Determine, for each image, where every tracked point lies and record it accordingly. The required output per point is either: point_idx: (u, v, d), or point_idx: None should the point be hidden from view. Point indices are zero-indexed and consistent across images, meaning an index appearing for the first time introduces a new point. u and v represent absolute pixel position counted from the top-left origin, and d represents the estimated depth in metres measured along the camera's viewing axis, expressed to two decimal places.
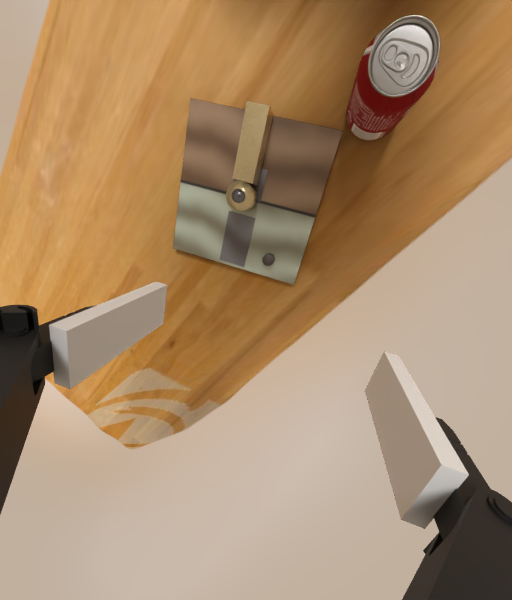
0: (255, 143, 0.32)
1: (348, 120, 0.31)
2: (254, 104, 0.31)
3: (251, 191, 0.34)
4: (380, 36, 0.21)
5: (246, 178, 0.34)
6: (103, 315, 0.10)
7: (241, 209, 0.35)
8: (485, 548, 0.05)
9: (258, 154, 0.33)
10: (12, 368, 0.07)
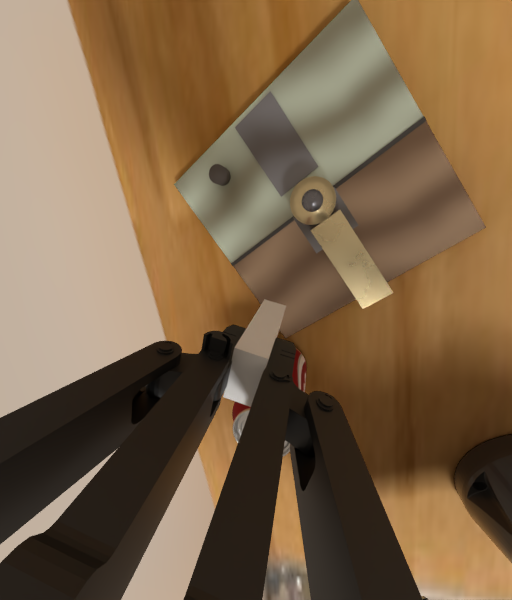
0: (345, 267, 0.23)
1: None
2: (381, 296, 0.23)
3: (303, 221, 0.22)
4: None
5: (323, 228, 0.22)
6: (259, 336, 0.12)
7: (295, 190, 0.22)
8: (267, 404, 0.08)
9: (332, 261, 0.23)
10: (203, 392, 0.08)
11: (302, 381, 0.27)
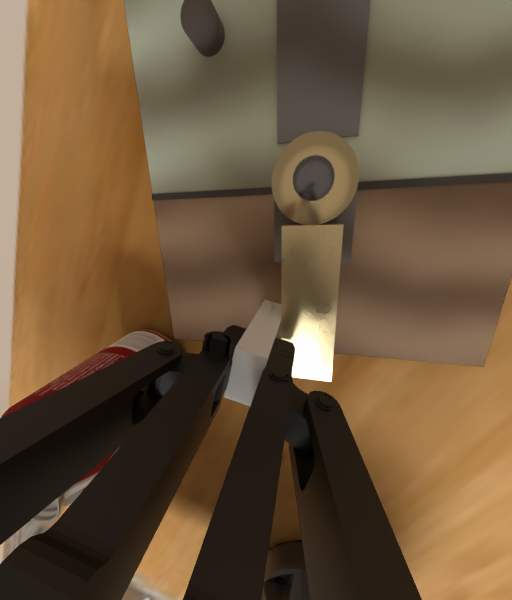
0: (295, 312, 0.14)
1: None
2: (313, 376, 0.15)
3: (280, 204, 0.12)
4: None
5: (301, 235, 0.12)
6: (260, 336, 0.12)
7: (299, 142, 0.11)
8: (266, 403, 0.08)
9: (283, 292, 0.14)
10: (204, 392, 0.08)
11: None
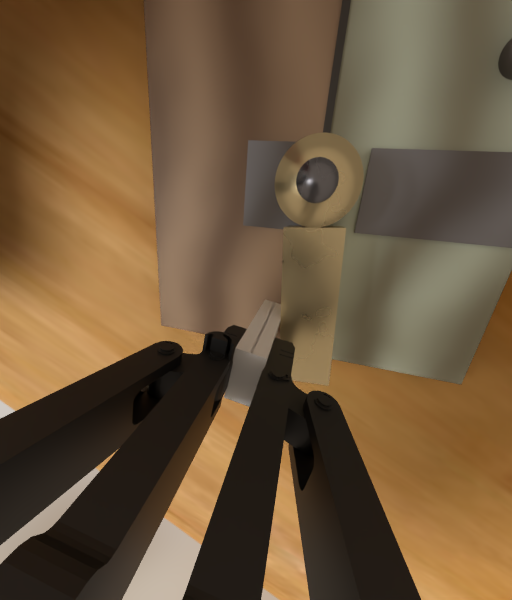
0: (294, 315, 0.14)
1: None
2: (310, 380, 0.15)
3: (282, 206, 0.12)
4: None
5: (303, 237, 0.12)
6: (260, 336, 0.12)
7: (304, 143, 0.11)
8: (266, 403, 0.08)
9: (283, 294, 0.14)
10: (204, 392, 0.08)
11: None
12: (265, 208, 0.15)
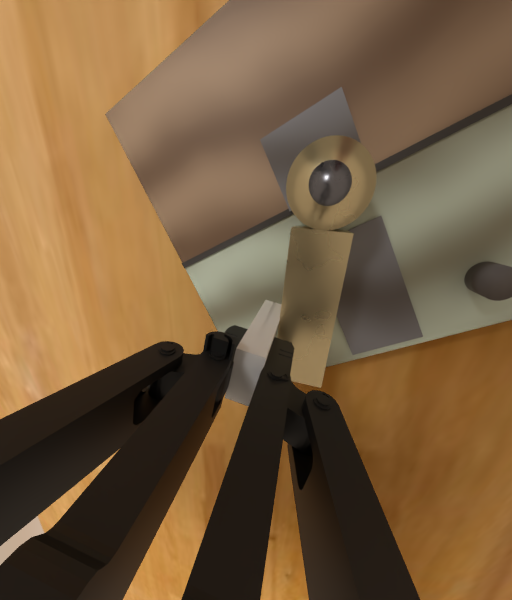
0: (293, 315, 0.14)
1: None
2: (303, 381, 0.15)
3: (292, 205, 0.12)
4: None
5: (310, 239, 0.12)
6: (261, 336, 0.12)
7: (319, 144, 0.11)
8: (265, 403, 0.08)
9: (284, 294, 0.14)
10: (205, 392, 0.08)
11: None
12: (287, 152, 0.14)
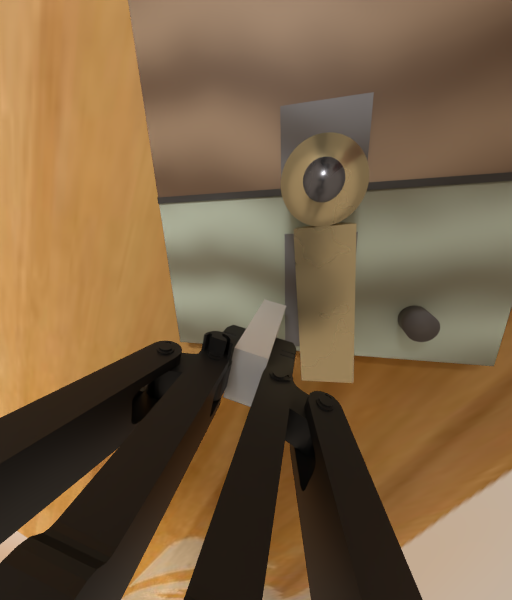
0: (312, 315, 0.14)
1: None
2: (334, 379, 0.15)
3: (290, 208, 0.12)
4: None
5: (314, 237, 0.12)
6: (259, 336, 0.12)
7: (306, 145, 0.11)
8: (267, 404, 0.08)
9: (298, 296, 0.14)
10: (203, 392, 0.08)
11: None
12: (300, 132, 0.14)
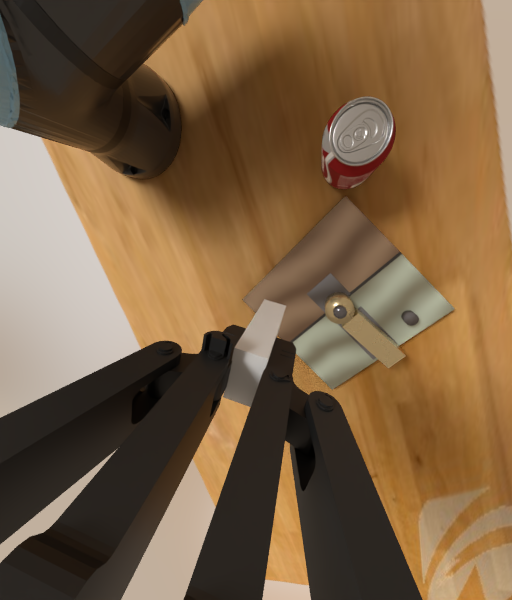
0: (370, 345, 0.35)
1: (342, 187, 0.33)
2: (398, 359, 0.35)
3: (336, 322, 0.36)
4: (331, 146, 0.23)
5: (350, 324, 0.35)
6: (259, 336, 0.12)
7: (327, 306, 0.35)
8: (267, 404, 0.08)
9: (361, 342, 0.36)
10: (203, 392, 0.08)
11: (325, 171, 0.30)
12: (318, 295, 0.38)
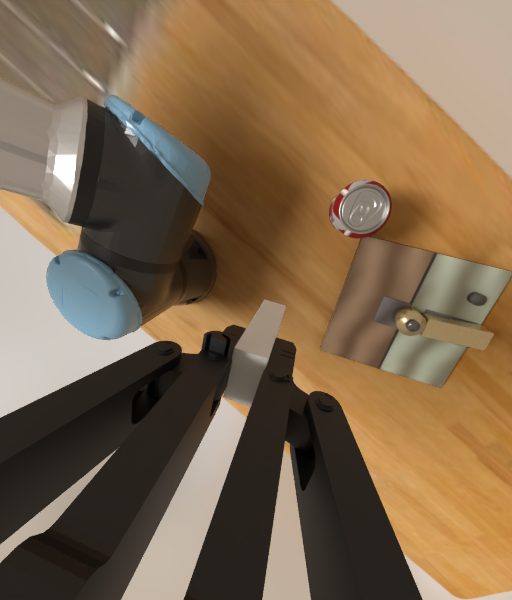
0: (456, 339, 0.38)
1: None
2: (489, 339, 0.37)
3: (414, 334, 0.39)
4: (346, 227, 0.30)
5: (427, 330, 0.38)
6: (259, 336, 0.12)
7: (399, 325, 0.39)
8: (267, 404, 0.08)
9: (445, 340, 0.38)
10: (203, 392, 0.08)
11: None
12: (383, 318, 0.42)
